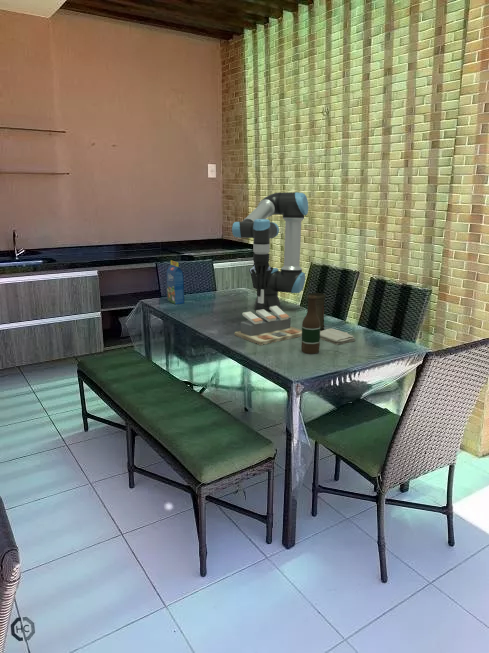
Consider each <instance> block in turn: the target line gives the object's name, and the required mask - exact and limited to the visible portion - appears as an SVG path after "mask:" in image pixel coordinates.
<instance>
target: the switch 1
mask: <svg viewBox="0 0 489 653" xmlns="http://www.w3.org/2000/svg"><path fill="white" fill-rule="evenodd" d="M242 316H243V317H244V318H245V319H247V321H249V320H250V321H251V322H252V323H254V324H259V323H262V322H263V320H262V319H261V318H262V317H258V316H257V315H256V314H254V313H253V312H252V311H245V312H242Z"/></svg>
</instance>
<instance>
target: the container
mask: <svg viewBox="0 0 489 653" xmlns="http://www.w3.org/2000/svg"><path fill="white" fill-rule="evenodd" d="M310 295H314V296H316V297H317V299H316V313H317V316H318V317H319V320H320V331H323V330H326V329H325V300H326V296H327V295H326V294H324V293H321V292H310V293H308V294H307V297H308V296H310Z"/></svg>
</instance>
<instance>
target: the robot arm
mask: <svg viewBox="0 0 489 653" xmlns="http://www.w3.org/2000/svg"><path fill="white" fill-rule="evenodd" d="M308 213H309V200H308V198H307V195H306V194H305V193H304V192H297V191H296V192H291V191H290V192H280V191H279V192H274V193H271V194H269V195H267V196H266V197H264V198H262V199H261V200H260V201H259V202H258V204H257V207H255V209H253V211H251V212H250V214H248V215H247V216H246V217H245V218H244V219H243V220H241V221H235V222H233V223H232V227H231V232H232V235H233V237H234V238H239V239H240V238H241V239H242V238H243V239H244V238H245V239H253V242H252V243H253V244H252V245H253V249H252V250H253V254H252V257H253V258H252V262H253V266H252V267H251V268H249V269H248V272H249V274H250V277H251V282H252V283H251V284H252V287H253V289H255V290H256V299H255V302H254V305H253V306H254V309H253V310H255V311H256V310H261V309H264V310H266V311H267V312H268V313H270V312H272V311H271V310H270V309H269V308H270V307H272V306H278V307H279V308H280V309H281V310H282V308H281V307H282V306H281V302H280V299H279V293H290V294H299V293H301V292H302V291H303V289H304V286H305V282H306V273H305V272H303V268H302V267H301V266H300V262H301V260H300V258H301V236H302V221H303V220H305V216H306V215H308ZM273 215H279V216H280V215H282V219H283V220H284V222H285V227H284V229H285V230H284V254H283V257H284V258H283V266H282V267H281V269H280V270H279V268H278V267H271V266H270V263H269V262H270V245H271V244H270V239H271V240H272V239H274V238H276V237H278V235H279V233H280V227H279V225H278V224H277V223H276V222H273V221H270V219H269V218H270V217H272V216H273ZM267 218H268V219H267ZM272 313H273V312H272Z"/></svg>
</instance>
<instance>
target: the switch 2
mask: <svg viewBox="0 0 489 653" xmlns="http://www.w3.org/2000/svg"><path fill="white" fill-rule="evenodd" d="M269 309H270V310H271V311H272V313H273V314H274V316H277V317H278V318H279V319H280V320H286V319H289V318H290V316H289V315H288V314H287V313H286V312H285V311H283V310H282V308H281V309H280V308H279V307H278V306H272V307H270V308H269Z"/></svg>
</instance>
